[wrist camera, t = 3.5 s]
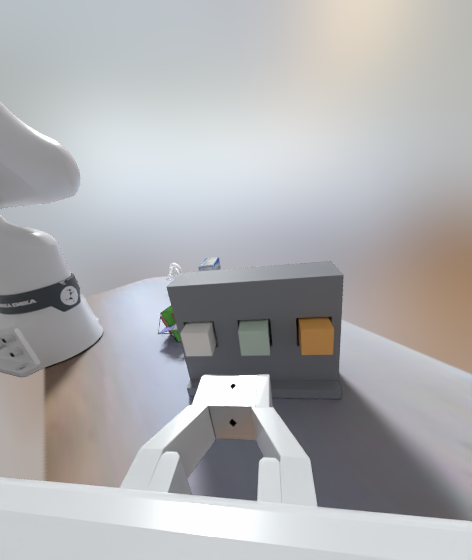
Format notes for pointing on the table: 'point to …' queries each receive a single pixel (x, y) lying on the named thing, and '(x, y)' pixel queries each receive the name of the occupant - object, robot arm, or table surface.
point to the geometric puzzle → (169, 323)
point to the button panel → (281, 318)
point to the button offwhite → (199, 338)
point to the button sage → (254, 337)
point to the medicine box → (210, 264)
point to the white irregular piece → (174, 271)
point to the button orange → (315, 336)
